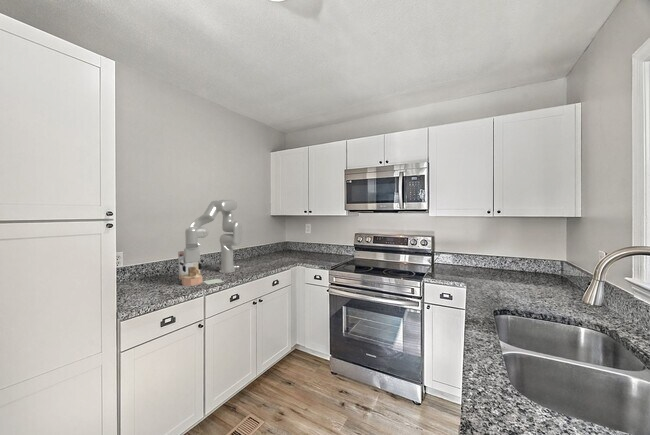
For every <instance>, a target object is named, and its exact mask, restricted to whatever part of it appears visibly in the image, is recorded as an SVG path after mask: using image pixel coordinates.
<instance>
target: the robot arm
mask: <svg viewBox="0 0 650 435" xmlns="http://www.w3.org/2000/svg"><path fill="white" fill-rule="evenodd" d="M237 207H238V203H237V200H235V199H220V200H212V201H210V203H209V204H208V206H207V208H206V210H205V211H204V212H203V214H202V215H200V216H199V217H197V218H196V219H195V220H193V221H192V222H191V224H190V226H189V227H188V228H185V232H184V233H185V234H184V235H185V237H184V238H185V247H184V249H183V251H184V255H183V258H181V259H179V260H177V262H179V263H180V264H181V265H182V266H183V271H184V272H186V266H185V265H186V264H187V263H193V262H198V263H199V264H198V269H199V270H200V271H201V270H202V264H203V263H204V261H205V259H206V256H203V255H201V250H200V248H199V246H200V245H201V244H200V243H199V242H198V241H199V239H204V238H206V237H207V236H208V235H209V230H208V229H207V228H206V227H204V225H207V224H210V223H212V222H214V221H215V219H216V217H217V215H218V213H219V212H220V213H221V214H222V222H221V225H222V226H221V227H222V231H223V232H225V233H223V234H221V235H220V237H219V243H220V255H221V256H220V261H221V265H220V266H221V268H220V269H219V273H220V274H227V273H235V272H236V269H239V268H240V266H239V265H234V248H233V247H232V246H235V247H236V246H237V247H238V246H240V244H241V242H242V233H243V232H242V231H243V230H242V229H243V228H242V224H241V222H240V221H238V220H234V213H233V211H235V210H236V209H237ZM202 226H203V227H202ZM182 260H183V261H184V263H182V262H181V261H182ZM179 263H178V264H179Z"/></svg>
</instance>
